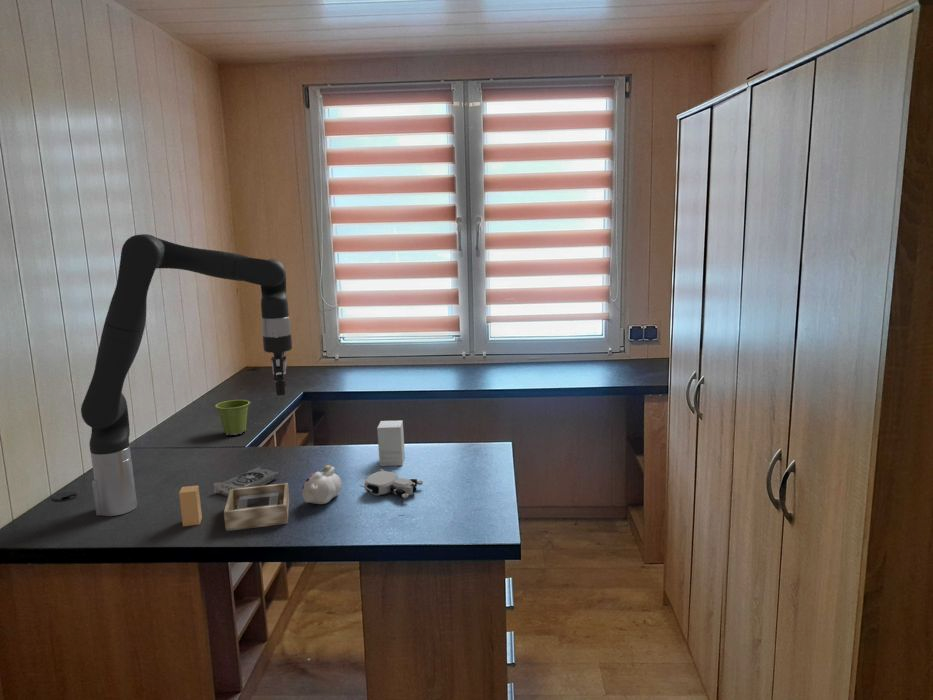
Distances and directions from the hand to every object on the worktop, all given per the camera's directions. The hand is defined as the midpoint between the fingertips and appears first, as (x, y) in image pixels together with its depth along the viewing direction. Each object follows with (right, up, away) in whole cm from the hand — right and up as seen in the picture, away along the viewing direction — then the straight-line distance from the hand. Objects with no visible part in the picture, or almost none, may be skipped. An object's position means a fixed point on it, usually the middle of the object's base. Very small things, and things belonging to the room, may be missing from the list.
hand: (281, 391), depth 185 cm
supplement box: (+28, -24, +26) cm, 45 cm away
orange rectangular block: (-19, -33, -13) cm, 40 cm away
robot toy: (+30, -29, +2) cm, 42 cm away
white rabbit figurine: (+12, -30, -2) cm, 32 cm away
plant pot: (-33, -19, +58) cm, 70 cm away
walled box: (-3, -32, -10) cm, 33 cm away
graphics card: (-11, -29, +9) cm, 32 cm away
